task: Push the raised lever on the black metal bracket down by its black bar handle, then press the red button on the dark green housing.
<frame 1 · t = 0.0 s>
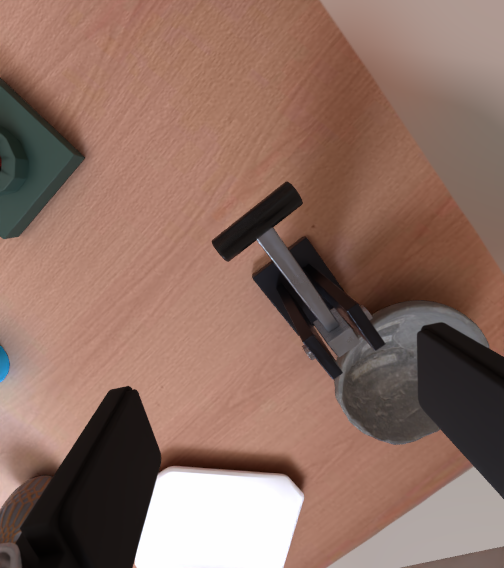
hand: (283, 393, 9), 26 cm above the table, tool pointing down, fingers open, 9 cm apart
plate: (218, 516, 46), on the table
button box: (9, 162, 29), on the table
bracket: (300, 286, 36), on the table
lever: (307, 292, 19), point 16 cm above the table, hinge at 25.0°
bowl: (380, 345, 39), on the table
vase: (48, 483, 42), on the table
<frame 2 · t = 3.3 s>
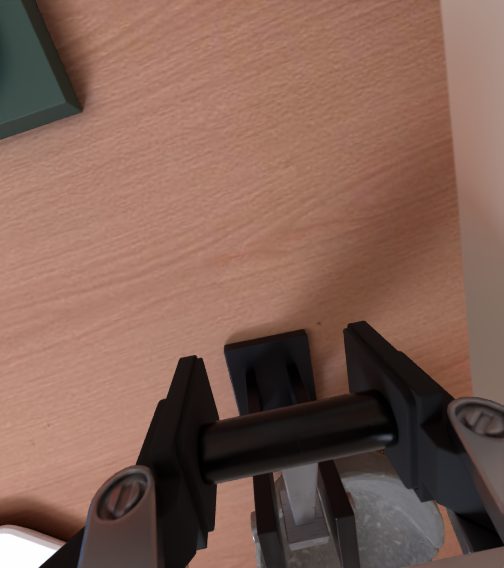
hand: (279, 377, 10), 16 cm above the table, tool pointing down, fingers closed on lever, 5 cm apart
bracket: (272, 379, 29), on the table
lever: (300, 492, 12), point 16 cm above the table, hinge at 25.0°, touching gripper
bowl: (325, 473, 33), on the table
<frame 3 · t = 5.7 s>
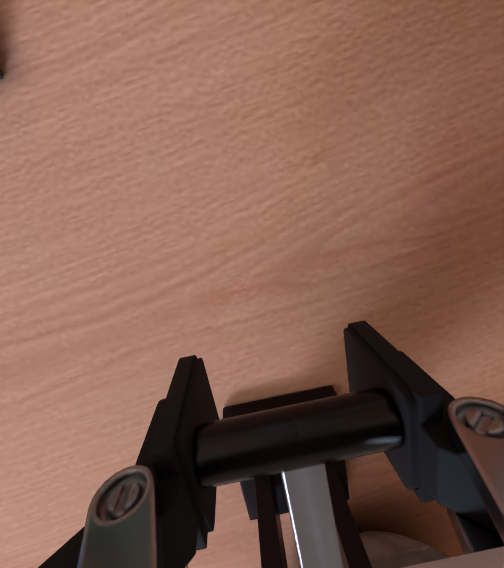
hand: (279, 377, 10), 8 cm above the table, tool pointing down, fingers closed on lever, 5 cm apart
bracket: (287, 449, 21), on the table
bowl: (352, 554, 26), on the table
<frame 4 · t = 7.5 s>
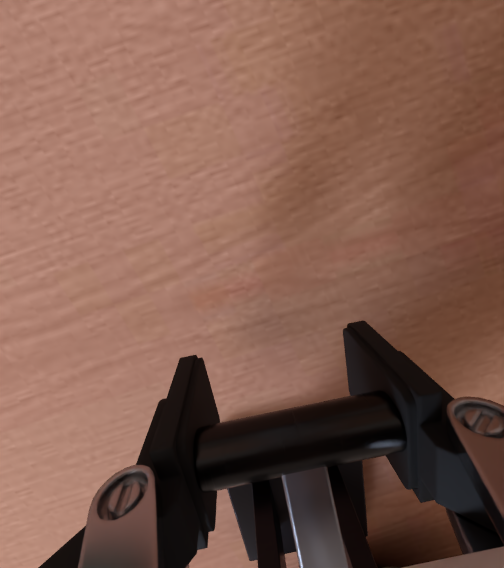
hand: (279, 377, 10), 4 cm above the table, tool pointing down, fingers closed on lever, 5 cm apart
bracket: (294, 478, 18), on the table
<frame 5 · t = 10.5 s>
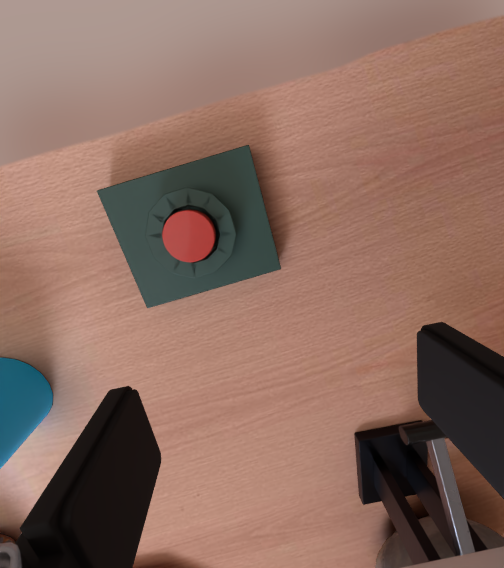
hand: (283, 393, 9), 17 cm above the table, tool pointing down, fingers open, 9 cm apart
button box: (197, 229, 25), on the table
bracket: (388, 459, 34), on the table
lever: (456, 520, 22), point 10 cm above the table, hinge at -26.2°
bowl: (419, 531, 38), on the table
button: (190, 235, 20), point 4 cm above the table, slide at 0.1 cm
vase: (0, 543, 34), on the table
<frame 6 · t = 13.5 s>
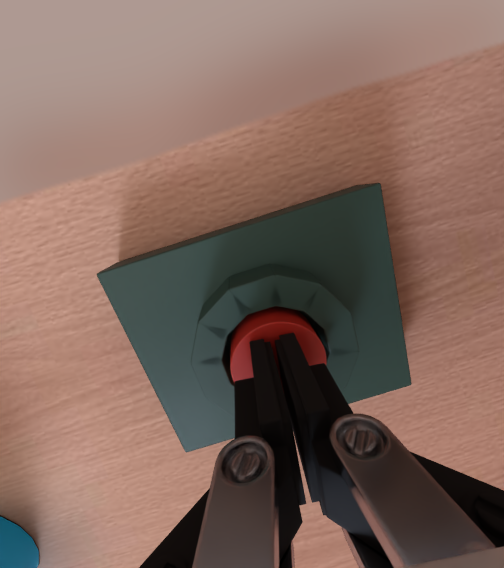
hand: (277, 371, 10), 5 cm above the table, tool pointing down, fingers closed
button box: (265, 316, 15), on the table
button: (275, 354, 11), point 4 cm above the table, slide at -0.6 cm, touching gripper
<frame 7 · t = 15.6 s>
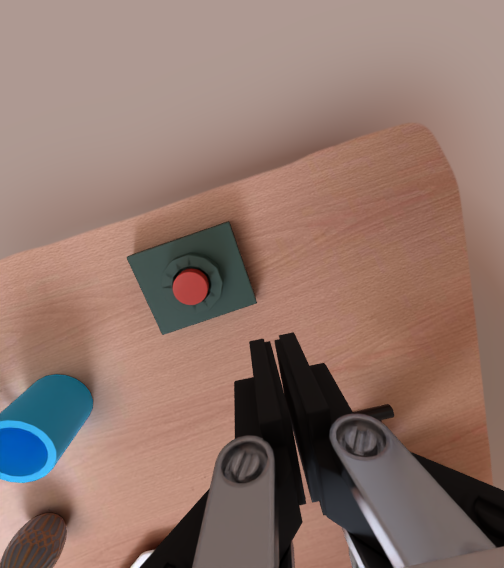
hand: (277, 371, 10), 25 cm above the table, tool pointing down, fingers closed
button box: (196, 276, 34), on the table
lever: (388, 479, 31), point 10 cm above the table, hinge at -26.2°
button: (191, 286, 30), point 4 cm above the table, slide at 0.1 cm
vase: (51, 521, 43), on the table
mug: (48, 404, 38), on the table
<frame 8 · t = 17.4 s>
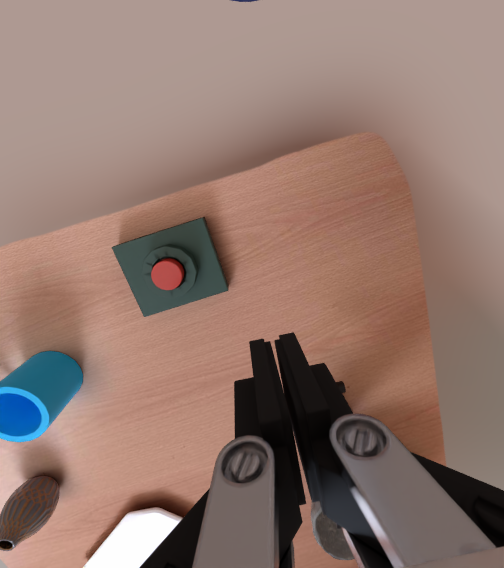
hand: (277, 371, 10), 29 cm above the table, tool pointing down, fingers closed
plate: (165, 553, 54), on the table
button box: (175, 265, 38), on the table
lever: (337, 444, 36), point 10 cm above the table, hinge at -26.2°
bowl: (349, 475, 52), on the table
button: (168, 274, 34), point 4 cm above the table, slide at 0.1 cm
vase: (46, 483, 48), on the table
mug: (43, 377, 42), on the table
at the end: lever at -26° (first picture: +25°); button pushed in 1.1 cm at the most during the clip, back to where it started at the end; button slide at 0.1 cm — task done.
